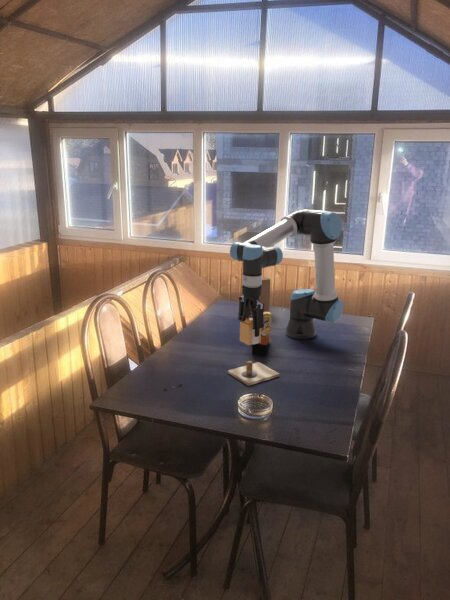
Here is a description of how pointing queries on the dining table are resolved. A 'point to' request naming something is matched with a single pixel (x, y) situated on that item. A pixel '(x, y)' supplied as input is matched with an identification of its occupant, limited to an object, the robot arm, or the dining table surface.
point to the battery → (261, 346)
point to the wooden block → (265, 293)
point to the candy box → (266, 324)
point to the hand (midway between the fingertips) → (250, 340)
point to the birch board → (253, 373)
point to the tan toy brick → (247, 331)
